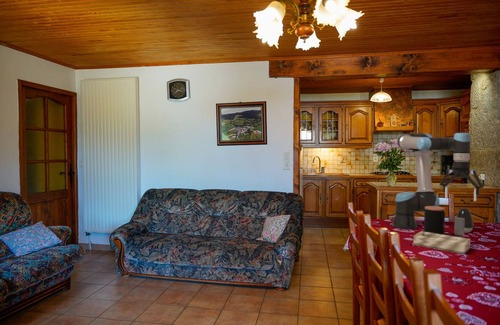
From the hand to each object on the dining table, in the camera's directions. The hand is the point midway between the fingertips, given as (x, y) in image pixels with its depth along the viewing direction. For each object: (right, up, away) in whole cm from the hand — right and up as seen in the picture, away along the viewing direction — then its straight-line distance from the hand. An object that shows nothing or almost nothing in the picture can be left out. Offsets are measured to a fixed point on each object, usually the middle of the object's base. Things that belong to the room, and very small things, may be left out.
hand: (460, 199), depth 182 cm
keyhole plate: (-13, -25, -4) cm, 28 cm away
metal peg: (0, -25, +1) cm, 25 cm away
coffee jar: (-6, -25, +15) cm, 30 cm away
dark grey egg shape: (+21, -24, +29) cm, 43 cm away
